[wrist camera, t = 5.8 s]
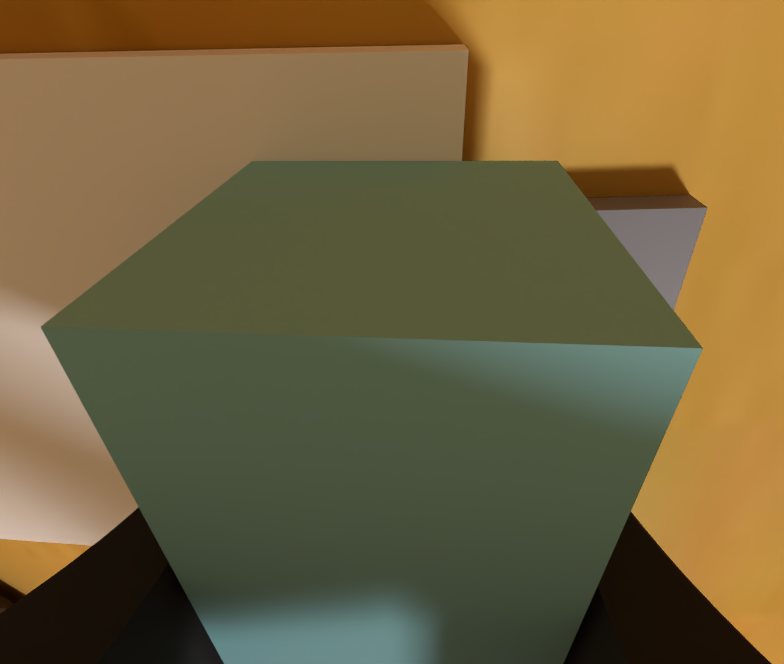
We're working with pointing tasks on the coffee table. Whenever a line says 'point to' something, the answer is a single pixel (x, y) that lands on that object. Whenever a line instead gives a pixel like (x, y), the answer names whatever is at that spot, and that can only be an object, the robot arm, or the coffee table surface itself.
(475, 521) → the block
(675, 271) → the mark chip
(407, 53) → the board
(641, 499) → the coffee table surface
